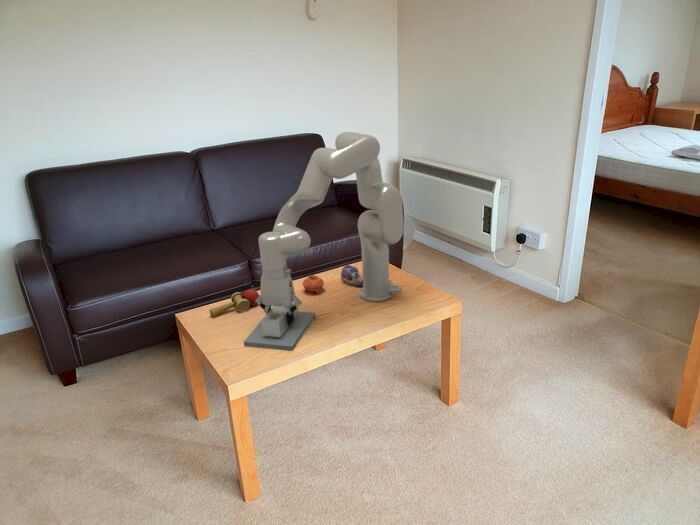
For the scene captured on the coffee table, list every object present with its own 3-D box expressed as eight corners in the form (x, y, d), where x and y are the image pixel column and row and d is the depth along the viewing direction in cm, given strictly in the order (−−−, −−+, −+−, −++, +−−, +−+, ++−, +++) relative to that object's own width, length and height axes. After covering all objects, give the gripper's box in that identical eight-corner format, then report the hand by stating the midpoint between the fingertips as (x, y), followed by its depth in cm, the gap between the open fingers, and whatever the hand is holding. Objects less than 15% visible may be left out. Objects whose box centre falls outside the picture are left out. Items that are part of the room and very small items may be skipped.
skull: (369, 286, 197) (368, 271, 195) (351, 291, 194) (350, 276, 192) (355, 275, 207) (354, 261, 205) (338, 279, 204) (337, 265, 202)
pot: (308, 284, 200) (311, 269, 197) (325, 292, 197) (328, 277, 194) (297, 292, 194) (299, 276, 191) (314, 300, 191) (317, 284, 188)
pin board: (315, 316, 176) (314, 303, 174) (292, 350, 157) (291, 336, 155) (271, 313, 180) (270, 300, 178) (244, 345, 161) (242, 331, 159)
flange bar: (280, 337, 160) (278, 322, 158) (262, 335, 161) (260, 321, 159) (298, 313, 174) (296, 299, 172) (281, 311, 176) (280, 298, 174)
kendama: (217, 325, 177) (265, 303, 185) (211, 308, 175) (259, 287, 183) (211, 320, 184) (257, 299, 191) (205, 304, 182) (252, 284, 190)
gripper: (305, 268, 162) (309, 319, 169) (254, 265, 166) (260, 315, 173) (296, 278, 155) (302, 330, 162) (244, 275, 160) (251, 326, 166)
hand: (280, 322), depth 167 cm, fingers closed on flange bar, 6 cm apart
